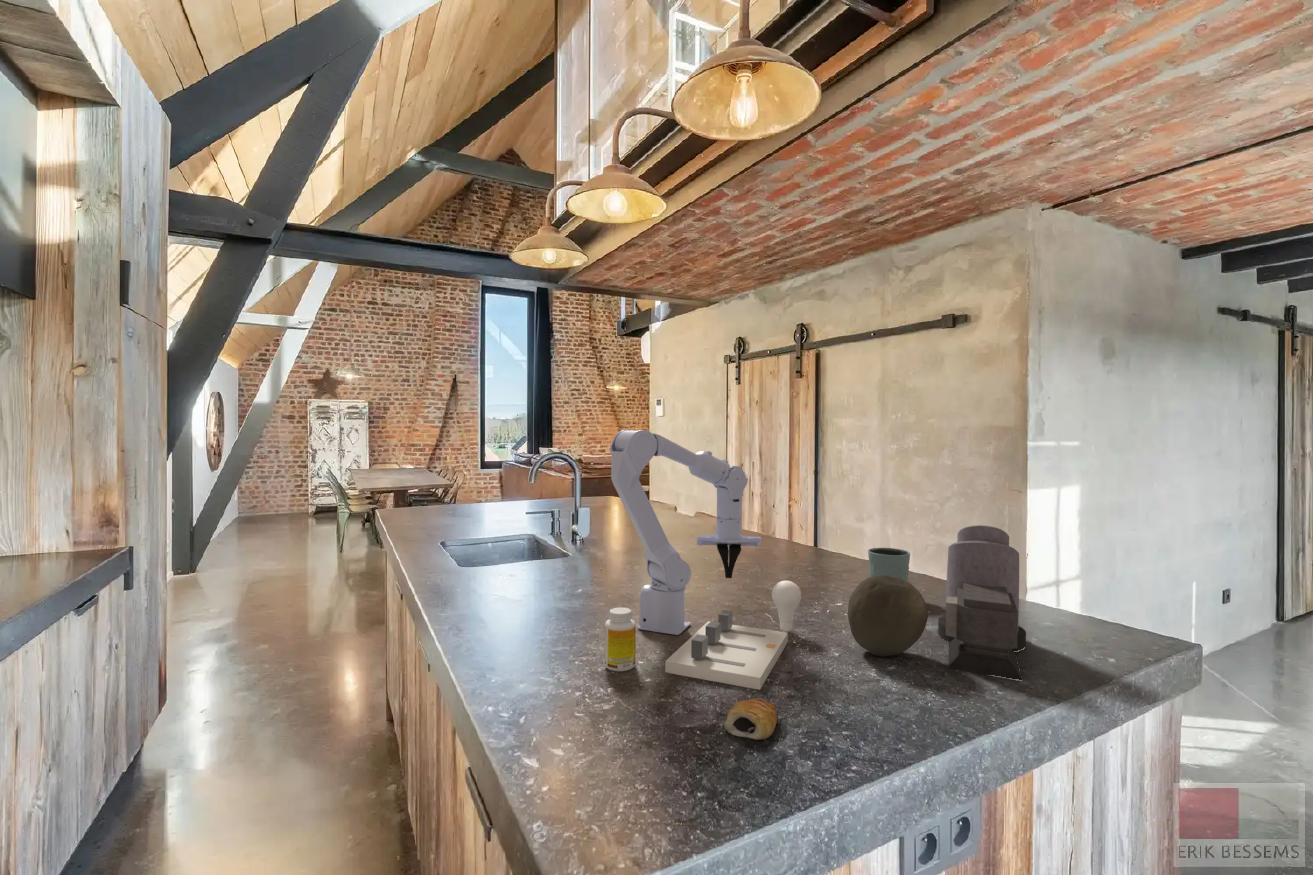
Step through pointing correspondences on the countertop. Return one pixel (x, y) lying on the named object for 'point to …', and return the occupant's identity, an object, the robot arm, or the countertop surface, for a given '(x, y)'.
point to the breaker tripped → (713, 632)
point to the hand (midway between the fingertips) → (728, 577)
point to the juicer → (983, 604)
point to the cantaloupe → (886, 615)
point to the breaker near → (699, 646)
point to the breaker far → (725, 620)
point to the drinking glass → (889, 562)
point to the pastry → (752, 719)
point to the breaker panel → (732, 657)
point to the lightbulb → (786, 602)
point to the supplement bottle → (620, 640)
